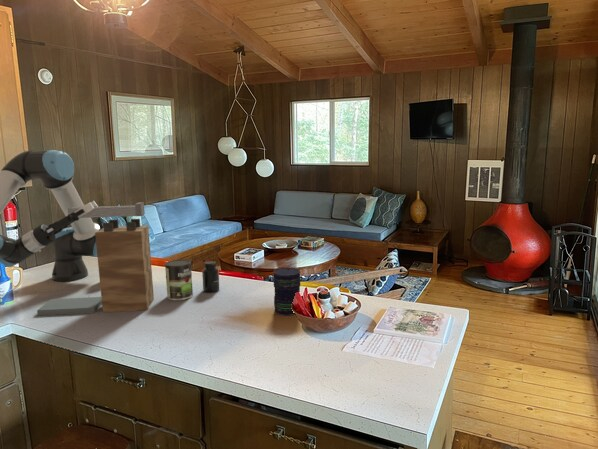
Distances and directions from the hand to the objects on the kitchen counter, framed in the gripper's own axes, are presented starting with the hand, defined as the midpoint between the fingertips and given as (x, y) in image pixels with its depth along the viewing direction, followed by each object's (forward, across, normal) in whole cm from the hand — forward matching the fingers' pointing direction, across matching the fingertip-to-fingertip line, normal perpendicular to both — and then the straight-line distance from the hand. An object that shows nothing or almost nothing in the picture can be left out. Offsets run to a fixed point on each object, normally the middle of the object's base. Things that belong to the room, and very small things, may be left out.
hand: (93, 204), depth 169 cm
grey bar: (+1, 0, -6) cm, 6 cm away
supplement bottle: (+14, -14, -54) cm, 58 cm away
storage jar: (+40, +14, -69) cm, 81 cm away
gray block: (-30, 0, -28) cm, 41 cm away
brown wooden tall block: (-12, 0, -39) cm, 41 cm away
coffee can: (+4, -8, -48) cm, 49 cm away
